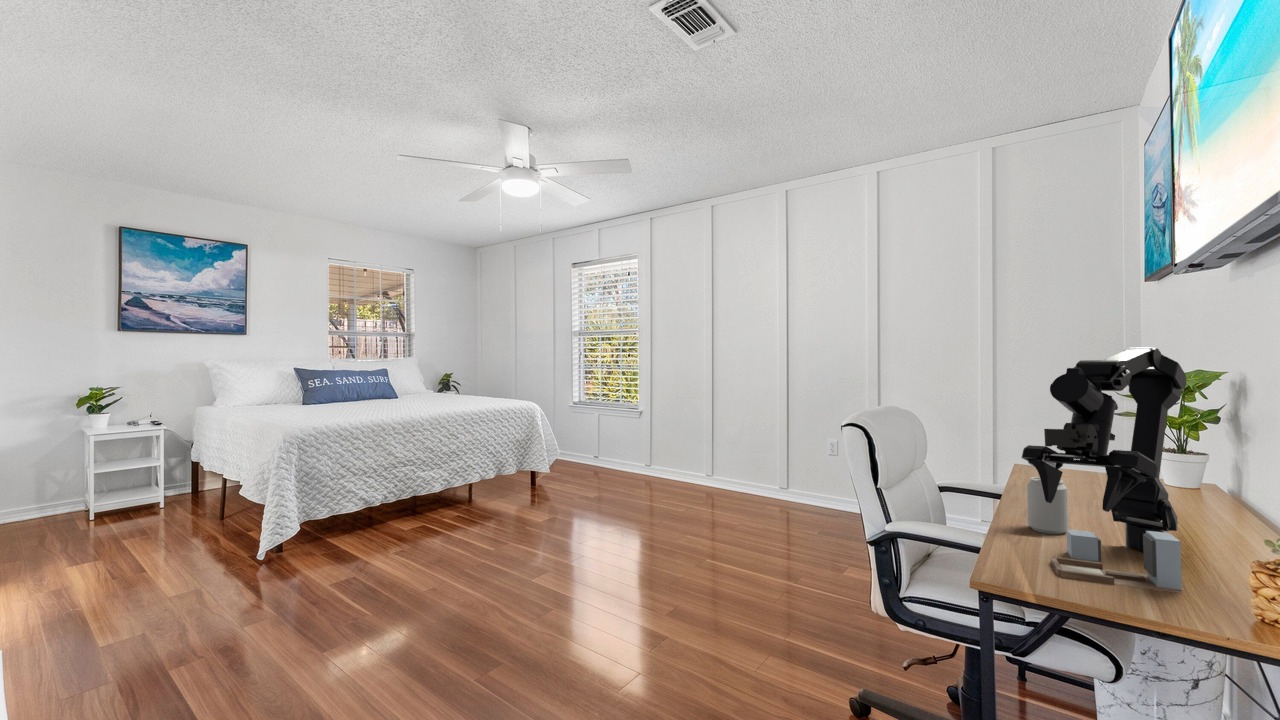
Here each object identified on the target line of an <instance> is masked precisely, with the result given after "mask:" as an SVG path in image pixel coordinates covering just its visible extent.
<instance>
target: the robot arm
mask: <svg viewBox="0 0 1280 720" xmlns="http://www.w3.org/2000/svg"><path fill="white" fill-rule="evenodd" d="M1127 386H1128V393H1129V394H1130V395H1131V397H1132V398H1133V400H1134V401H1135V403H1136V411H1135V419H1134V425H1133V432H1132V433H1133V434H1132V439H1131V446H1130V447H1131V448H1130V450H1121V449H1113V450H1111V451H1110V452H1108V451H1109V450H1108V449H1109V443H1110V441H1115V440H1116V434H1113V433H1112V427H1113V421H1114V416H1115V411H1118V409H1119V406H1118V403H1117V402H1116V400H1115V399H1114V398H1113V396H1112V395H1109V394H1108V393H1105V392H1122V391H1123V390H1124V389H1125V388H1127ZM1186 386H1187V376H1186V373H1185V371H1184V369H1183V368H1182V366H1181V365H1180V363H1179V362H1178V361H1175V360H1174V359H1171V358H1169V357H1167V356H1165V355H1164V354H1162V353H1161V351H1160V349H1159V348H1157V347H1153V346H1148V347H1146V346H1144V347H1128V348H1125V349H1123V351H1121V352H1119V353H1116V354H1114V355H1112V356H1109V357H1107V358H1104V359H1090V360H1089V359H1083V360H1079V361H1078V362H1076V364H1075V366H1073V367H1067V368H1066V373H1064V374H1061V375H1059V376H1057V377H1056V378H1055V379H1054V380H1053V381H1052V383H1051V384H1050V386H1049V392H1050V395H1051V396H1052V398H1053V399H1055V400H1056V401H1057V402H1059V404H1060V405H1062V406H1063V407H1064V408H1065V409H1067V410H1068V411H1069V412H1071V413H1072V415H1071V419H1070V420H1071V421H1070V422H1065V424H1063V428H1044V429H1043V430H1044V431H1043V432H1044V445H1027V446H1025V447H1024V448H1023V449H1022V455H1021V459H1023V460H1025V461H1027V463H1028V464H1029V465H1031V466H1033V467H1034V468H1035V470H1036V471H1037V473H1038V477H1040V479H1041V483H1042V488H1043V492H1044V497H1045V501H1046V502H1048V503H1052V501H1053V499H1054V497H1055V494H1056V491H1057V488H1058V485H1059V482H1060V480H1062V476H1063V471H1062V470H1060V468H1062V467H1063V466H1064V465H1077V466H1088V467H1100V468H1101V467H1102V468H1104V469H1105V472H1106V476H1107V477H1106V478H1107V479H1106V484H1105V489H1104V493H1103V498H1102V511H1103V512H1106V513H1109V512H1111V515H1112V516H1111V517H1112V521H1113V522H1117V523H1118V522H1119V523H1122V524H1123V523H1124V524H1125V525H1124V527H1125V545H1119V548H1127V549H1130V550H1134V551H1137V552H1139V553H1141V554H1143V534H1146V531H1155V532H1166V533H1169V532H1170V531H1171V532H1172V531H1173V532H1177V531H1178V523H1179V522H1178V516H1177V513H1176V512H1175V510H1174V507H1173V506H1172V504H1171V502H1170V501H1169V493H1168V491H1167V490H1166V488H1165V486H1164V485H1163V483H1162V482H1161V480H1160V474H1161V466H1162V465H1161V464H1162V458H1163V453H1164V451H1163V450H1164V443H1165V436H1166V427H1167V419H1168V411H1169V410H1170V409H1171V408H1172V407H1174V405H1176V404H1177V403H1178V402H1179V401H1180V400H1181V397H1182V393H1183V390H1184V389H1185V388H1186ZM1053 446H1055V447H1056V449H1058V450H1059V451H1063V452H1064V453H1063V452H1057V451H1055V450H1054V449H1052V448H1051V447H1053Z"/></svg>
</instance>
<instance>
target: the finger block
mask: <svg viewBox="0 0 1280 720" xmlns="http://www.w3.org/2000/svg"><path fill="white" fill-rule="evenodd" d="M1066 550H1067V551H1066V552H1067V554H1068V555H1069V556H1070V559H1076V560H1084V561H1092V562H1102V542H1101V539H1100V538H1099V536H1097V534H1096V533H1094V532H1093V531H1089V530H1079V529H1078V530H1076V529H1070V528H1068V529H1067V531H1066Z"/></svg>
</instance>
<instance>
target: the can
mask: <svg viewBox="0 0 1280 720" xmlns="http://www.w3.org/2000/svg"><path fill="white" fill-rule="evenodd" d="M1029 479H1030V481H1028V482H1027V484H1026V494H1027V495H1026V496H1027V497H1026V498H1027V499H1026V500H1027V502H1026V503H1027V524H1028V526H1029V527H1030V528H1031V529H1032V530H1034V531H1036V532H1039V533H1043V534H1049V535H1063V534H1064V533H1065V532H1067V529H1069V513H1068V512H1069V511H1068V510H1069V509H1068V507H1069V506H1068V505H1069V504H1068V503H1069V502H1068V487H1067V486H1066V485H1065V484H1063V483H1064V480H1063V479H1060V482H1059V485H1058V488H1057V491H1056V494H1055V497H1054V499H1053V501H1052V503H1048V502H1046V501H1045V497H1044V492H1043V488H1042V483H1041V479H1040V476H1032V477H1030V478H1029Z"/></svg>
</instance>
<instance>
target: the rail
mask: <svg viewBox="0 0 1280 720" xmlns="http://www.w3.org/2000/svg"><path fill="white" fill-rule="evenodd" d="M1049 563H1050V565H1051V566H1052V568H1053V570H1054V571H1055V573H1056V575H1057V576H1058V577H1059V578H1065V579H1066V578H1067V579H1073V580H1081V581H1087V582H1094V583H1095V582H1096V583H1103V584H1110V585H1118V586H1123V587H1131V588H1132V587H1133V588H1139V589H1147V590H1154V591H1161V592H1169V593H1175V594H1182V592H1181V590H1176V589H1169V588H1161V587H1157V586H1156V585H1155V584H1154V583H1153V582H1152V581H1151V580H1150V579H1149V578H1148V577H1147V573H1142V572H1136V571H1128V570H1127V571H1126V570H1119V569H1112V568H1103V565H1104V564H1103V563H1102V562H1101V561H1089V560H1081V559H1073V558H1068V557H1057V556H1052V557H1050V561H1049Z"/></svg>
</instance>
